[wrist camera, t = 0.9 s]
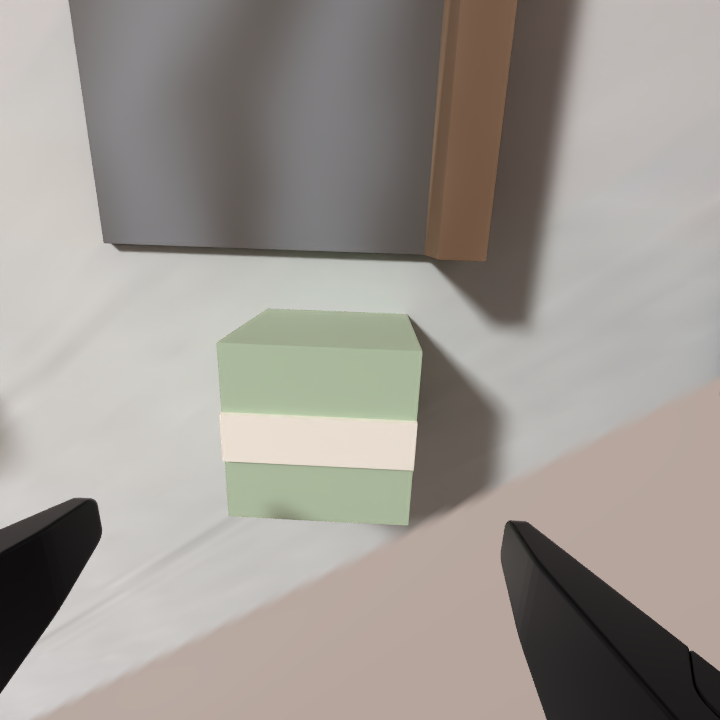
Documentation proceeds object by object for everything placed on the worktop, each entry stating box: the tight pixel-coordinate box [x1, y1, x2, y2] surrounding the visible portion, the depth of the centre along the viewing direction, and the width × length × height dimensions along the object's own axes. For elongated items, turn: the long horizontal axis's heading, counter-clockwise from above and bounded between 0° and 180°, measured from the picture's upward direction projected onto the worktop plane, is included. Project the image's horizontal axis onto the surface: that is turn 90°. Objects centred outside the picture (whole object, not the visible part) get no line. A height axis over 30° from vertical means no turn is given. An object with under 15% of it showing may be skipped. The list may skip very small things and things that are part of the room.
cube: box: [217, 309, 423, 526], centre depth 15 cm, size 6×6×6 cm
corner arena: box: [69, 0, 518, 261], centre depth 13 cm, size 14×14×4 cm
